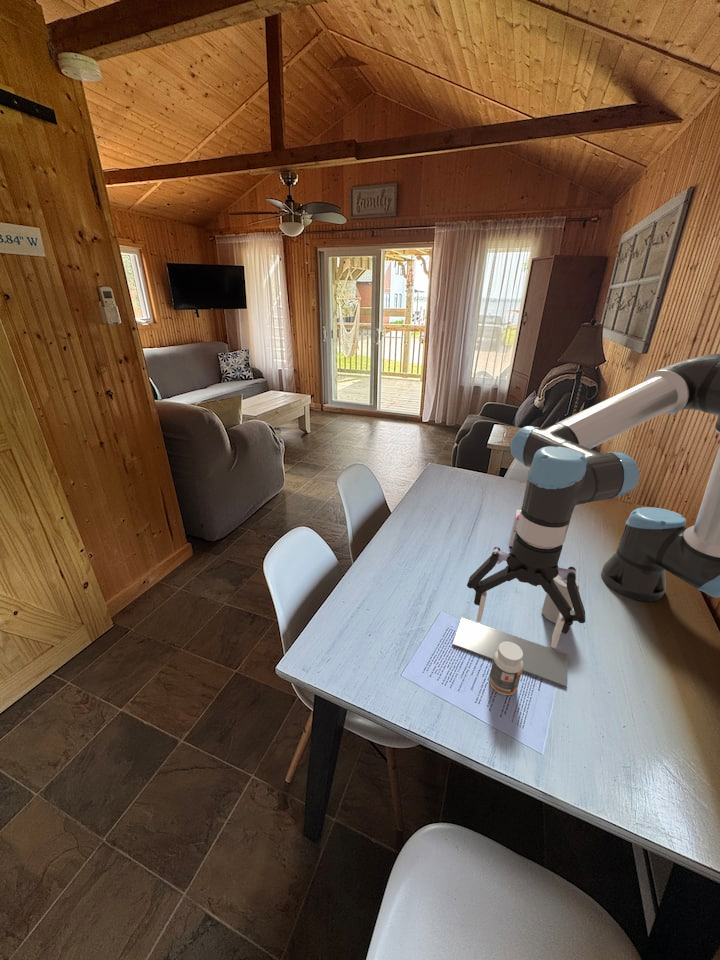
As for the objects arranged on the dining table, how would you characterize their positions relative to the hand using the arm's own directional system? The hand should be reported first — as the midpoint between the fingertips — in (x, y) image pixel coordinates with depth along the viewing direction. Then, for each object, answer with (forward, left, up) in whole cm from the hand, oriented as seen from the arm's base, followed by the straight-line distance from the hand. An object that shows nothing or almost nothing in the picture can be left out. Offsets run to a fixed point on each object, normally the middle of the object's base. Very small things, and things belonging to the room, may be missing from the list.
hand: (515, 629), depth 75 cm
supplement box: (+3, -55, -16) cm, 58 cm away
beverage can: (-9, -26, -16) cm, 32 cm away
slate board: (0, -10, -16) cm, 18 cm away
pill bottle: (0, 0, -16) cm, 16 cm away
